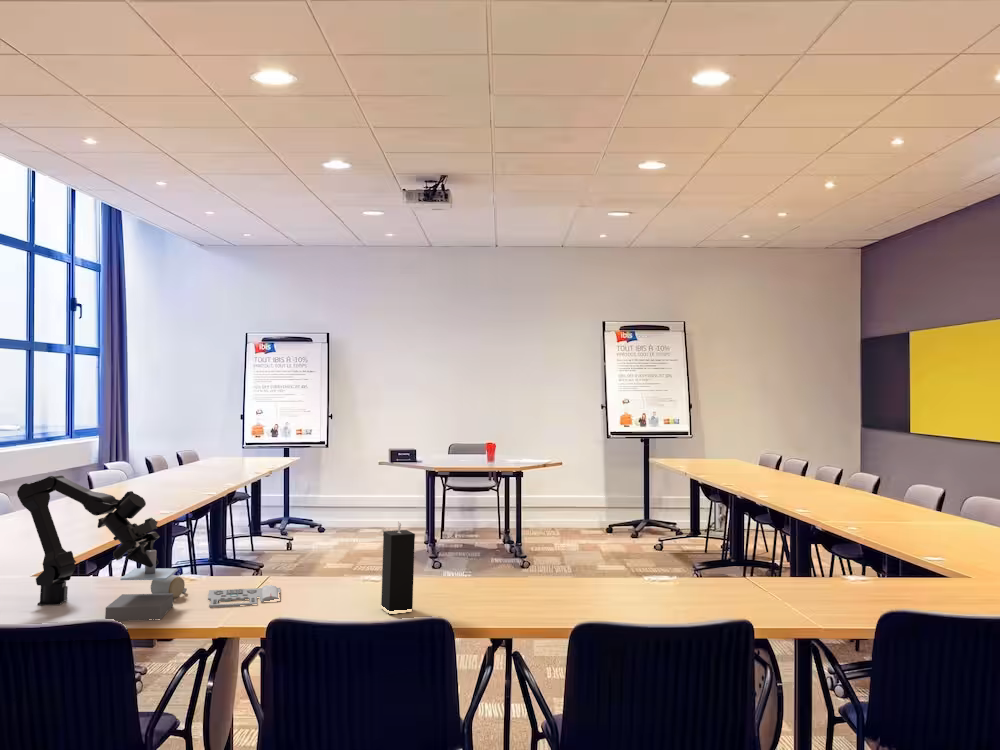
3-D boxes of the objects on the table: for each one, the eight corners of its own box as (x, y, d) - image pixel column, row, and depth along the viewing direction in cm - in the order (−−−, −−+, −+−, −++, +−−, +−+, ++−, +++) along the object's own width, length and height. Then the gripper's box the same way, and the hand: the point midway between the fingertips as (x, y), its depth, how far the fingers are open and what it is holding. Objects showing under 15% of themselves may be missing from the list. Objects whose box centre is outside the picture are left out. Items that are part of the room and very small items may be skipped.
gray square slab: (105, 621, 215) (105, 607, 215) (121, 607, 230) (122, 594, 230) (159, 620, 218) (160, 606, 218) (172, 606, 232) (173, 593, 232)
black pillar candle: (388, 615, 228) (391, 524, 229) (380, 609, 235) (383, 520, 236) (412, 612, 232) (415, 523, 233) (404, 606, 239) (406, 519, 240)
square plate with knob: (120, 580, 222) (121, 555, 223) (134, 570, 235) (135, 546, 235) (166, 580, 224) (167, 555, 225) (177, 570, 237) (178, 546, 237)
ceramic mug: (169, 601, 238) (171, 577, 238) (149, 598, 240) (150, 574, 241) (192, 594, 248) (194, 571, 248) (173, 591, 250) (174, 568, 251)
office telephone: (280, 583, 258) (283, 597, 239) (280, 590, 258) (282, 606, 239) (209, 586, 250) (206, 601, 231) (208, 593, 250) (205, 609, 231)
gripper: (125, 515, 221) (159, 553, 221) (155, 506, 240) (186, 542, 239) (97, 540, 221) (132, 579, 220) (129, 530, 240) (161, 565, 239)
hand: (154, 565), depth 230 cm, fingers closed on square plate with knob, 3 cm apart
